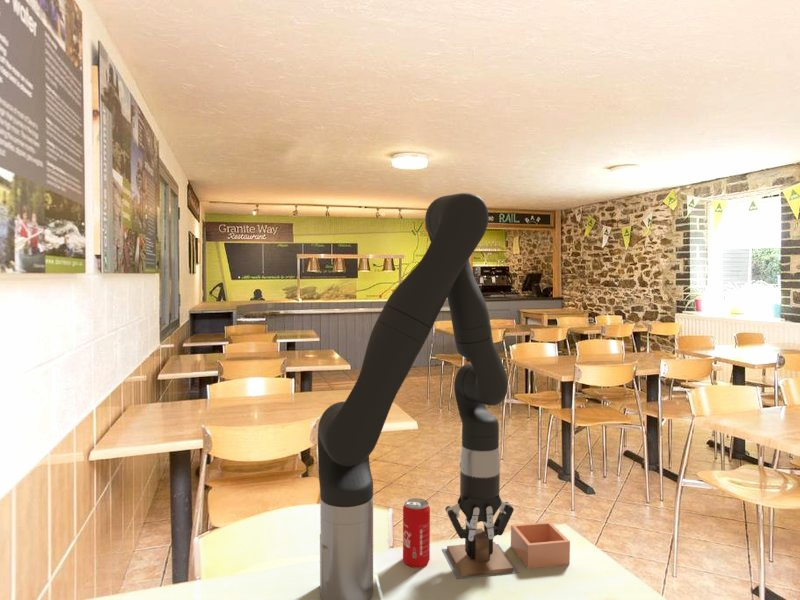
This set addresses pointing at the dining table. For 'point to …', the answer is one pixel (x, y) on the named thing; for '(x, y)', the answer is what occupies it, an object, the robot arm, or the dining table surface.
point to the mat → (478, 575)
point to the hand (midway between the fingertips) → (479, 556)
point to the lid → (479, 558)
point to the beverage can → (416, 532)
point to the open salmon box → (540, 544)
